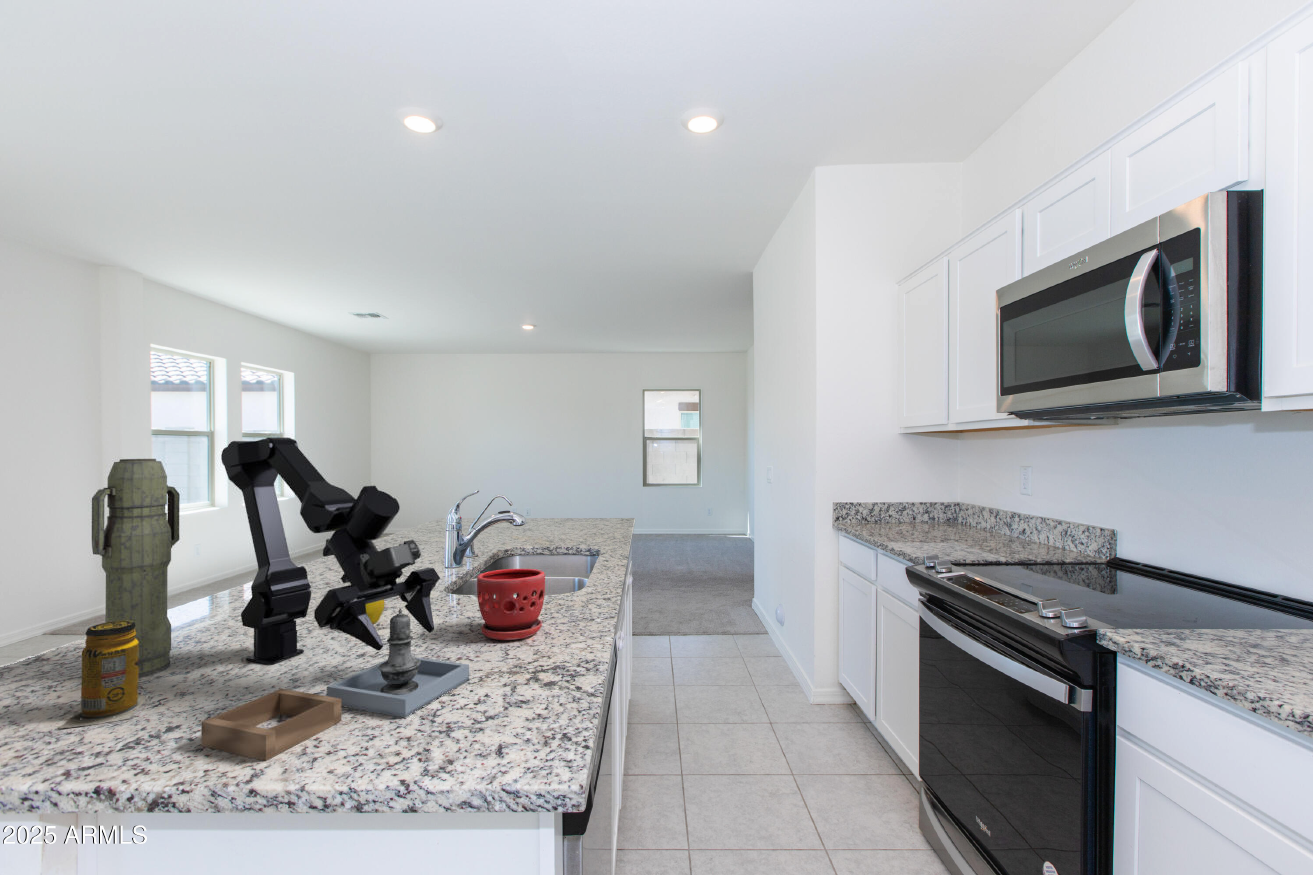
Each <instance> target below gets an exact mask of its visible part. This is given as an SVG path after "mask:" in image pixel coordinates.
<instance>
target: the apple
mask: <svg viewBox="0 0 1313 875" xmlns="http://www.w3.org/2000/svg"><path fill="white" fill-rule="evenodd" d="M385 605H386V604H385V599H384V600H380V601H376V602H373V603H369V604H366V613H367V615H368V617H369V619H370V620H371V622H372V624H373V625H374V624H377V623H378V622H379V621H380V619H381V616H382V614H383V612H384V610H385V609H384V608H385Z"/></svg>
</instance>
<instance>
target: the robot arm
mask: <svg viewBox="0 0 1313 875" xmlns="http://www.w3.org/2000/svg"><path fill="white" fill-rule="evenodd" d="M298 444H299V443H298V442H297V440H295V439H294V438H291V437H279V436H278V437H275V436H273V437H271V436H269V437H266V438H262V439H258V440H232V441H231V442H229V444H227V446H226V447H224V448H223V450H222V451H221V455H220V456H221V458H220V459H221V463H222V466H224V470H225V472H226V475H227V478H228V480H229V481H230V482H232V483H233V485H234V486H235V487H237V488H238V489H239V490H240V491H241V493H242V497H243V502H244V506H245V507H244V508H245V510H246V515H247V520H248V521H247V522H248V525H249V530H250V535H251V540H252V544H253V549H254V554H255V559H256V563H257V569H258V570H257V572H256V575H255V577H254V578H253V581H252V584H251V587H250V590H251V591H250V592H251V598H250V600H249V601H248V602H247V604H246V606H245V607H244V609H243V610H242V611H241V613H240V617H241V618H240V619H241V623H242V626H243V627H246V628H250V629H253V654H251V655H248V656H245V659H244V660H245V661H249V662H255V663H261V664H267V665H273V664H276V663H278V662H282V661H285V660H288V659H290V658H292V657H295V656H297V655H301V654H304V652H305V650H304V649H303V648H298V630H297V620H298V619H302V618H307V615H308V610H309V606H310V602H311V598H312V590H311V588H312V586H311V584H310V582H309V579H308V571H307V568H306V567H305V566H304V565H302V566H297V565H296V564H295V563H294V562H293V561H292V560H291V556H290V551H289V547H288V543H287V537H286V533H285V528H284V525H283V520H282V516H281V515H282V514H281V511H280V506H279V503H278V502H279V501H278V498H277V493H276V489H275V488H276V487H275V483H276V480H277V478H278V476H279V477H280V478H281V479H282V480H283V481H284V483H286V485H287V487H289V489H290V490H291V491H292V493H293V494H294V495H295V496H296V498H298V500H299V501H300V503H301V504H300V511H299V514H300V516H301V519H302V520H303V521H304V523H305V525H306V527H307V528H308V529H309V531H310V532H311V533H313V534H323V533H331V532H333V533H332V534H331V536H330V537H329V538H327V539H325V546H324V548H323V549H322V556H323V557H331V556H333V557H334V558H335V559H336V562H337V563H338V565H339V567H340V569H341V570H342V572H343V575H342V576H341V577H340V580H341V582H342V583H343V584H344V585H345V584H348V583H349V584H348V585H345V586H341V587H336V588H332V589H328V590H327V592H326V594H324V596H323V597H322V599H321V601H320V602H319V603H318V605H317V606H316V607H315V609H314V611H313V614H314V615H313V617H314V619H315V621H316V623H317V625H318V627H319V628H320V629H322V628H326V627H328V628H329V629H330V630H331V631H333V630H338V631H340V632H341V633H344V634H346V635H348V636H351V637H352V638H355V639H356V640H358V641H360V642H361V643H364V644H365V645H367V646H369V647H371V648H372V649H373V650H376V651H381V650H382V649H383V647H384V644H383V642H382V639H381V636H380V634H379V633H378V631H377V630H376V628H375V626H374V624H372V622H371V620H370V619H369V617H368V615H367V613H366V604H369V603H373V602H376V601H380V600H384V601H385V600H387V599H392V598H395V597H399V599H400V600H401V601H402V602H403V603H406V604H405V605H404V608H405V610H406V611H407V612H408V613H409V614H410V615H411V616H412V617H413V618H414V619H415V620H416V622H418V623H419V625H420V626H421V627H422V628H423V629H424V630H425V631H427V632H428V633H429V634H432V633H433V631H434V630H435V624H434V618H433V612H432V605H431V592H432V591H433V590H434V589H435V587H436V584H437V583H438V582H439V580H441V577H440V576H439V574H438V573H437V572H438V571H436V569H435V568H433V567H424V568H421V569H416V570H413V571H410V573H409V574H408V576H407V577H406V579H404V581H401V582H398V581H397V579H400V578H401V577H402V575H403V574H404V572H403V570H404V569H405V568H408V567H409V566H413V565H415V564H416V561H417V560H418V559H420V558H421V556H422V552H421V549H420V546H419V545H418V544H417V542H415V540H414V539H409V540H404V541H403V543H399V544H398V545H394V546H390V547H389V546H388V547H386V548H383V549H381V550H378V548H377V546H376V545H375V542H373V541H374V540H378V539H379V538H381V537H382V535H383V534H384V532H385V531H386V530H387V528H388V527H389V526H390V524H391V523H392V522H393V520H394V519H395V517H396V516H398V513H399V511H400V507H401V506H400V503H399V501H398V499H397V498H395V497H393V496H392V495H391V494H389V493H387V492H385V491H382V490H379V489H378V488H377V486H376V485H365V486H362V488H361V490H360V492H359V494H358V496H357V497H354V495H352V494H351V493H349V492H348V491H346V489H344V488H341V487H339V486H336V485H333V484H331V483H329V481H327V480H326V479H325V478H324V476H323V475H322V473H320V472H319V470H318V469H317V468H316V466H314V464H313V463H312V462H311V461H310V460H309V458H308V457H306V455H305V454H304V453H303V452H302V451H301V450H300V448H299V445H298Z"/></svg>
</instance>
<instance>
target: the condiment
mask: <svg viewBox="0 0 1313 875" xmlns="http://www.w3.org/2000/svg"><path fill="white" fill-rule="evenodd" d="M135 626H136V625H135V622H133V621H125V620H123V621H112V622H106V623H105V622H103V623H102V622H101V623H99V624H94V625H92V626H90V627H88V628H87V629H86V631H85V635H86V639H85V642H84V643H85V646H84V648H83V649H82V650H81V683H80V685H81V686H80V687H81V688H80V691H81V692H80V694H81V696H80V709H79V710H77V712H76V713H74V715H72V716H70V717H68V719H67V720H66V721H65V722H64V723H63V724H62V725H61V726H60V727H59V729H65V728H66V729H67V728H68V729H71V728H76V727H85V726H86V727H87V726H92V725H103V724H105V723H109V722H118V721H122V720H129V719H131V718H132V716H133V715H134V714H135V712H136V711H137V710H138V709H140V707H141V706H142V705H143V704H144V703H145V701H146V700H147V699H148V698H149V696H150V695H141V696H139V678H140V677H139V676H138V674H139V673H138V672H139V670H138V667H139V665H138V659H139V658H138V656H139V642H138V640H137V639H136V638H135V636H136V632H135Z"/></svg>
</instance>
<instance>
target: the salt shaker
mask: <svg viewBox="0 0 1313 875" xmlns="http://www.w3.org/2000/svg"><path fill="white" fill-rule="evenodd" d="M413 639H414V638H413V636H412V635H411V617H410V616H409V615H408V614H404V613H403V610H402V608H399V609H398V610H397V614H395V615H393V616H392V617H391V618H390V620H389V638H387V640H386V642H387V643H388V646H389V648H388V657H387V659H388V660H387V659H386V660H387V661H386V662H384V663H382V664H381V665H380V666H379V670H380V671H381V675H382V678H383V679H384V680H385V681H386V682H387V683H388V684H386V685H385V686H383V687H382V688H381V693H386V694H392V695H402V694H406V693H410V692H412V691H414V690H416V689H417V688H418V686H419V685H418V683H417V682H415V681H413V680H412V679H413V678H414V677H415V676H416V674H417V672H418V669H419V665H420V664H421V661H420V660H419V659H416V658H413V657H414V656H413V654H412V651H411V650H412V645H411V644H412V640H413Z"/></svg>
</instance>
